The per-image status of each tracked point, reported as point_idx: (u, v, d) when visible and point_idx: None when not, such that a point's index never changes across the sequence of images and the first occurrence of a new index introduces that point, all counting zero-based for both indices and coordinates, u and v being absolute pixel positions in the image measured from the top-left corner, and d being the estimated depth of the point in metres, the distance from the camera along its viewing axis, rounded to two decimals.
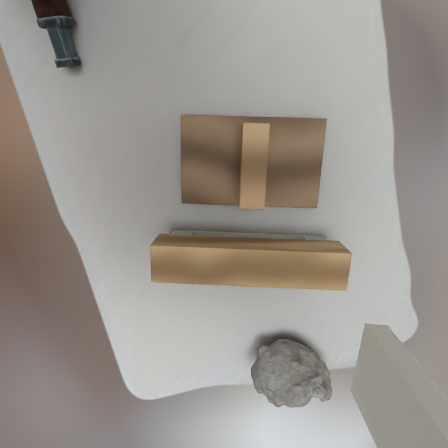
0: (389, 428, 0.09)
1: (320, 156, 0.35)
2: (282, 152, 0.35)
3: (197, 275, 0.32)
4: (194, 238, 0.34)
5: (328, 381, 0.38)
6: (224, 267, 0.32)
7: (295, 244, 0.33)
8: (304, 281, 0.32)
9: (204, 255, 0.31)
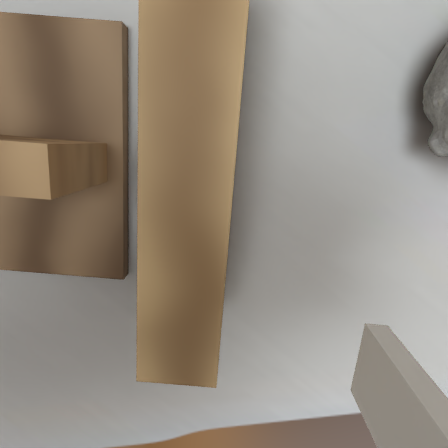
0: (389, 428, 0.09)
1: (18, 17, 0.18)
2: (19, 97, 0.19)
3: (201, 300, 0.14)
4: None
5: None
6: (182, 241, 0.14)
7: None
8: (222, 34, 0.12)
9: (155, 281, 0.14)
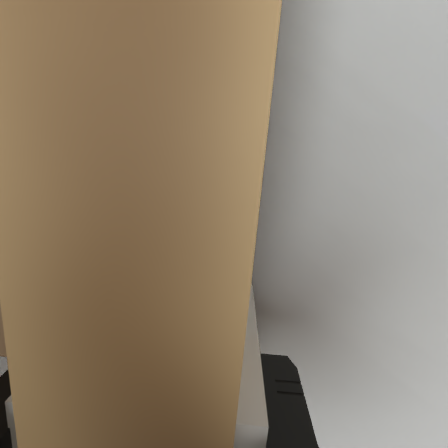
0: None
1: None
2: None
3: None
4: None
5: None
6: (122, 393, 0.05)
7: None
8: None
9: None
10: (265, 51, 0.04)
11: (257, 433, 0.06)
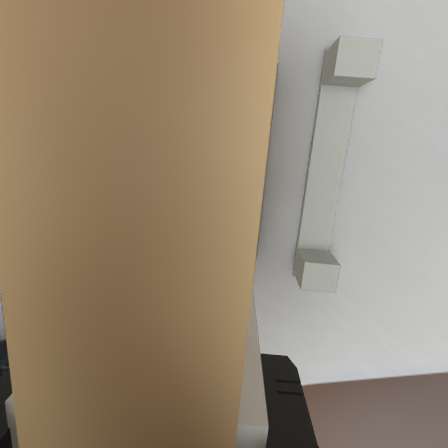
0: None
1: None
2: None
3: None
4: None
5: None
6: (124, 393, 0.05)
7: None
8: None
9: None
10: (267, 51, 0.04)
11: (257, 433, 0.06)
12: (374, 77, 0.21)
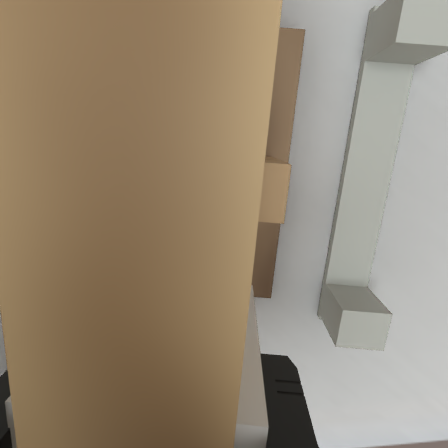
0: None
1: None
2: None
3: None
4: None
5: None
6: (122, 394, 0.05)
7: None
8: None
9: None
10: (266, 51, 0.04)
11: (257, 433, 0.06)
12: None
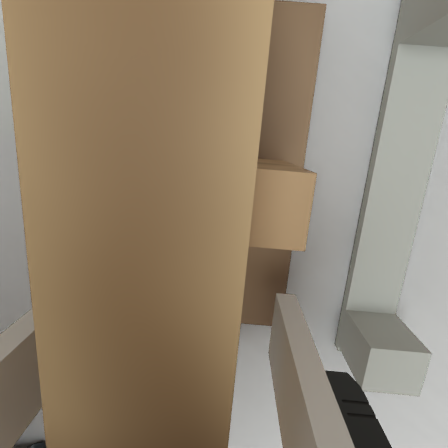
0: (279, 375, 0.10)
1: None
2: None
3: None
4: None
5: None
6: (135, 364, 0.06)
7: None
8: None
9: (83, 438, 0.07)
10: (257, 71, 0.05)
11: None
12: None
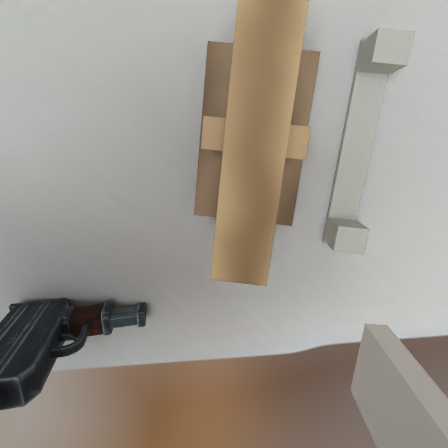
0: (389, 428, 0.09)
1: None
2: None
3: (261, 219, 0.21)
4: None
5: None
6: (251, 176, 0.20)
7: None
8: (288, 38, 0.18)
9: (230, 205, 0.21)
10: (293, 88, 0.19)
11: None
12: (406, 64, 0.25)
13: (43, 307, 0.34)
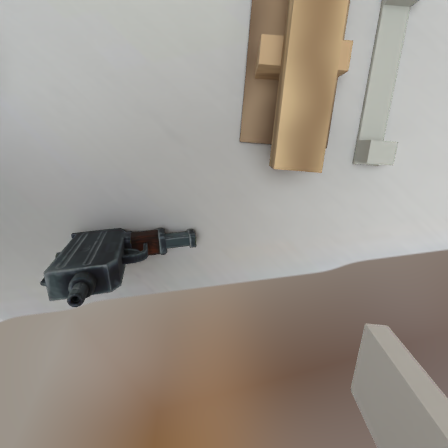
0: (389, 428, 0.09)
1: None
2: None
3: (318, 112, 0.25)
4: (275, 120, 0.28)
5: None
6: (310, 73, 0.24)
7: None
8: None
9: (292, 100, 0.25)
10: None
11: None
12: None
13: (103, 233, 0.38)
